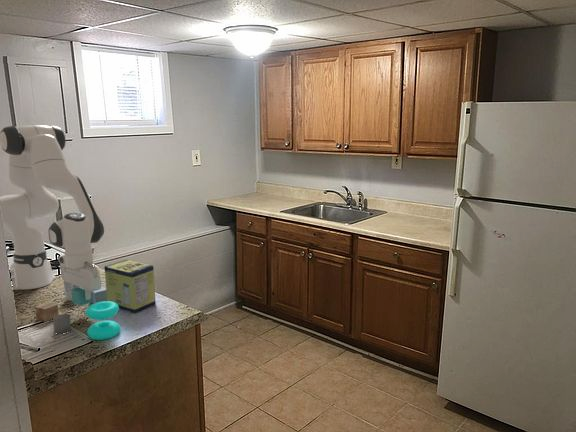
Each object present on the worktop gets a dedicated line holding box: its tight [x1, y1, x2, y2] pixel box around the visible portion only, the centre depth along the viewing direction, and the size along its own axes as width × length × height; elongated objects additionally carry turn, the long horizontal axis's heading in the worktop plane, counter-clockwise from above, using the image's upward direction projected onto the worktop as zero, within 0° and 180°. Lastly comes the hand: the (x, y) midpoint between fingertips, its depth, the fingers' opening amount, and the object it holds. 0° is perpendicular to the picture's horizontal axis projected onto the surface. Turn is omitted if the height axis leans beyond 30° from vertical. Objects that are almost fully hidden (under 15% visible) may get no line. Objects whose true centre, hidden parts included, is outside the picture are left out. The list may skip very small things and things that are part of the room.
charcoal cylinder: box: [52, 313, 72, 335], centre depth 152 cm, size 5×5×5 cm
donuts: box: [85, 301, 121, 341], centre depth 149 cm, size 10×10×10 cm
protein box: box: [104, 259, 157, 314], centre depth 173 cm, size 10×16×16 cm
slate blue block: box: [91, 285, 107, 304], centre depth 177 cm, size 5×5×5 cm
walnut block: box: [34, 301, 59, 323], centre depth 162 cm, size 5×5×5 cm
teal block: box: [71, 287, 93, 307], centre depth 163 cm, size 5×5×5 cm
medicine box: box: [63, 280, 73, 302], centre depth 181 cm, size 8×4×9 cm, turn 168°
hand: (82, 297), depth 163 cm, fingers closed on teal block, 5 cm apart
